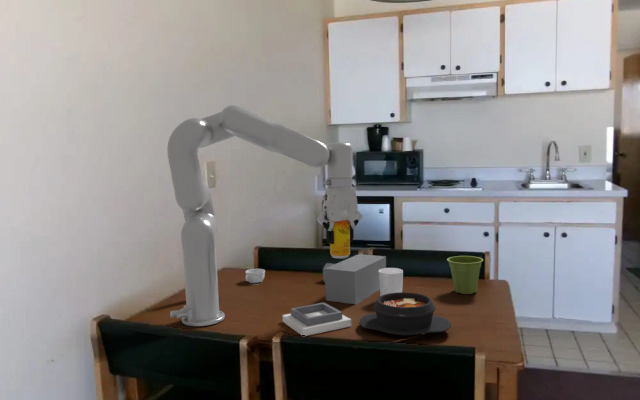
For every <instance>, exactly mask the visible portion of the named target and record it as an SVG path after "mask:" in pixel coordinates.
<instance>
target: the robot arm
mask: <svg viewBox="0 0 640 400" xmlns="http://www.w3.org/2000/svg"><path fill="white" fill-rule="evenodd" d="M234 137H236V138H238V139H241V140H243V141H245V142H247V143H250V144H254V146H257V147H260V148H262V149H265V150H266V151H270V152H272V153H277V154H281V155H283V156H285V157H288V158H291V159H293V160H296V161H297V162H299V163H301V164H304V165H307V166H308V167H311V168H313V169H314V168H316V169H319V168H322V167H324V166H327V167H326V168H327V169H326V170H327V177H326V179H325V180H323V185H325V186H326V187H327V188H325V190H324V196H323V203H322V205H323V206H322V211H321V212H320V214H319V215H318V216H317V218H316V221H317V222H318V223H319V224H320V226H321V227H323V228H324V230H325V238H326V243H327V244H329V245H330V244H333V243H334V231H332V228H333V226H334V222H339V221H341V212H342V211H347V212H348V220H349V221H350V243H353V242H354V238H355V237H354V233H355V232H354V231H355V230H356V226H357V225H358V224H359V223H360V221H361V220H362V218H363V214H361V212H360V211H359V209H358V198H357V192H356V188H355V187H353V146H352V144H351V143H349V142H330V143H323V142H321V141H319V140H316V139H314V138H311V137H310V136H307V135H305V134H303V133H300V132H298V131H295V130H293V129H290V128H289V127H287V126H285V125H283V124H281V123H278V122H276V121H273V120H272V119H270V118H267V117H265V116H263V115H260V114H257V113H255V112H253V111H250V110H249V109H246V108H244V107H242V106H239V105H235V104H231V105H228V106H226V107H224V108H223V109H222V110H221V111H220V112H217V113H214V114H212V115H209V116H205V117H202V118H199V117H191V118H187V119H186V120H184V121H182V122H180V124H179V125H177V126H176V127H175V128H174V129H173V130H172V132H171V134H170V136H169V138H168V143H167V148H166V149H167V157H168V159H167V160H168V165H169V170H170V175H171V181H172V186H173V190H174V191H173V192H174V196H175V197H174V198H175V201H176V204H177V205H178V207H179V208H180V209H181V210H182V212H183V218H184V223H183V225H182V227H181V233H180V240H181V242H180V243H181V249H182V257H183V270H184V287H185V291H184V292H185V301H186V302H185V303H186V304H185V305H183V307H182V308H180V309H179V310H175V309H174V310H170V312H169V313H170V314H169V315H170V318H172V319H173V318H176V319H181V323H182V324H184V326H185V325H186V326H188V327H205V326H212V325H214V324H218V323H221V322H222V321H223V320H224V319H225V317H226V316H225V313H224V312H223V311H222V310H220V302H219V281H218V265H217V250H216V249H217V248H216V247H217V246H216V234H217V231H218V222H217V221H218V220H217V217H216V212H215V207H214V204H213V199H212V194H211V193H212V192H211V190H210V187H209V185H208V184H207V183H206V182H205V181H204V178H203V175H202V171H201V170H202V169H201V166H200V165H201V164H200V161H199V155H198V151H199V149H201V148H205V147H209V146H211V145H214V144H217V143H220V142H222V141H223V142H224V141H225V140H228V139H231V138H234ZM354 229H355V230H354Z"/></svg>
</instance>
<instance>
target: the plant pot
mask: <svg viewBox="0 0 640 400" xmlns="http://www.w3.org/2000/svg"><path fill="white" fill-rule="evenodd" d="M446 261H447V262H448V264H449V265H448V267H449V268H450V271H451V272H450V273H451V277H452V284H453V289H454V292H455V293H460V294H462V295H472V294H474V293H477V291H478V284H479V277H480V272H481V271H480V270H481V268H482V264H483V263H482V262H483V261H484V259H483V258H482V257H479V256H473V255H458V256H457V255H456V256H450V257H448V258H447V259H446Z"/></svg>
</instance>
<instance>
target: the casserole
mask: <svg viewBox="0 0 640 400" xmlns="http://www.w3.org/2000/svg"><path fill="white" fill-rule="evenodd" d="M372 309H373V310H374V311H375V312H374V313H367V314H365V315H364V316H362V317H361V318H360V319H359V321H358V323H359V326H361V327H362V328H364V329H369V330H374V331H379V332H383V333H386V334H390V335H395V336H401V337H403V336H404V337H406V336H407V337H409V336H418V335H419V336H420V335H423V334H436V333H443V332H446V331H449V329H450V328H451V327H452V323H451V321H450V320H448V319H447V318H446V317H444V316H439V315H434V312H435V311H436V309H437V308H436V305H434V302H433V300H432V298H431V297H429V296H427V295H425V294H421V293H417V292H416V293H415V292H403V291H402V292H400V293H390V294H385V295H382V296H378V297H377V298H376V300H375V303H374V304H373V306H372Z"/></svg>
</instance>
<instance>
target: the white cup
mask: <svg viewBox="0 0 640 400" xmlns="http://www.w3.org/2000/svg"><path fill="white" fill-rule="evenodd" d="M378 272H379V287H380V289H379V293H380V294H379V295H380V296H382V295H385V294H390V293H400V292H403V282H404V279H403V277H404V270H403V269H401V268H398V267H386V268H383V269H380V270H379V271H378ZM380 296H379V297H380Z"/></svg>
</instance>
